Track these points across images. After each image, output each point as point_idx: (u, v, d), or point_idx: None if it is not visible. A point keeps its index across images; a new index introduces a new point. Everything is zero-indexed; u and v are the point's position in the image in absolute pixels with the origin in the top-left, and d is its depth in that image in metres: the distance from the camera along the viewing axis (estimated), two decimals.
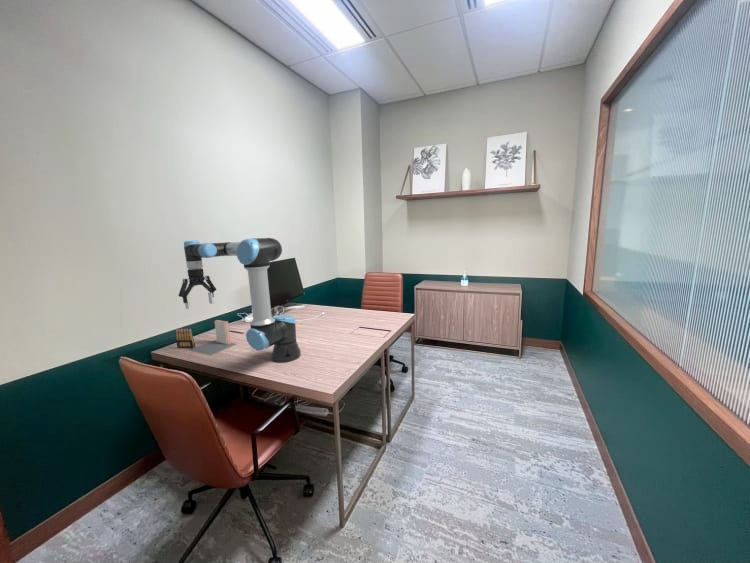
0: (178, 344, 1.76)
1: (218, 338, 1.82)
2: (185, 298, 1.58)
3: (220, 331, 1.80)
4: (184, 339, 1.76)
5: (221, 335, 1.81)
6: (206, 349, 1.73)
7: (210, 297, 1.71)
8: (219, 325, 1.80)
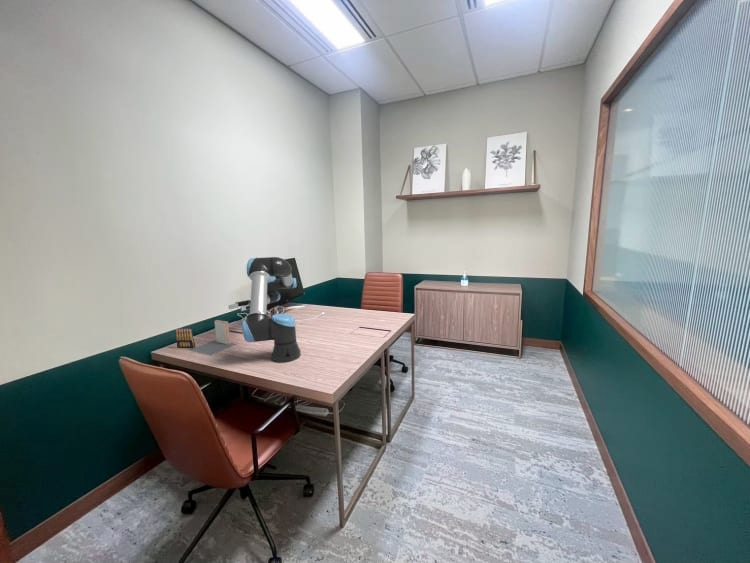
0: (178, 344, 1.76)
1: (218, 338, 1.82)
2: (235, 304, 1.97)
3: (220, 331, 1.80)
4: (184, 339, 1.76)
5: (221, 335, 1.81)
6: (206, 349, 1.73)
7: None
8: (219, 325, 1.80)
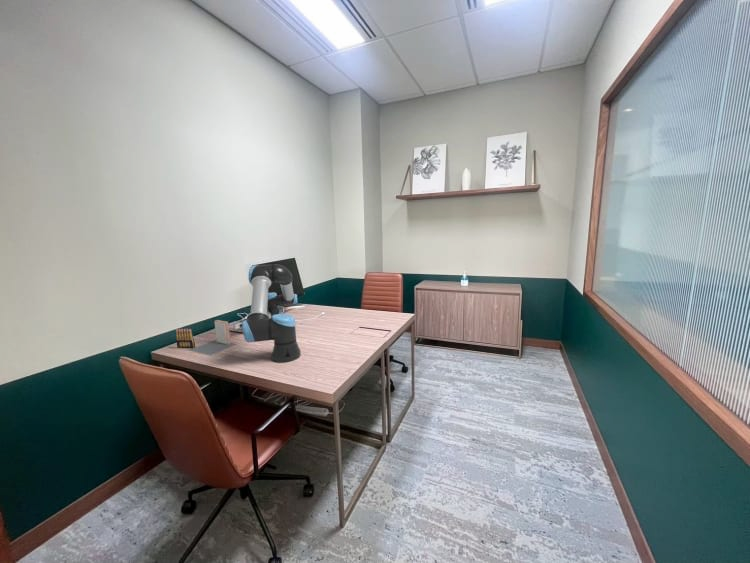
0: (178, 344, 1.76)
1: (218, 338, 1.82)
2: (240, 323, 1.95)
3: (220, 331, 1.80)
4: (184, 339, 1.76)
5: (221, 335, 1.81)
6: (206, 349, 1.73)
7: None
8: (219, 325, 1.80)
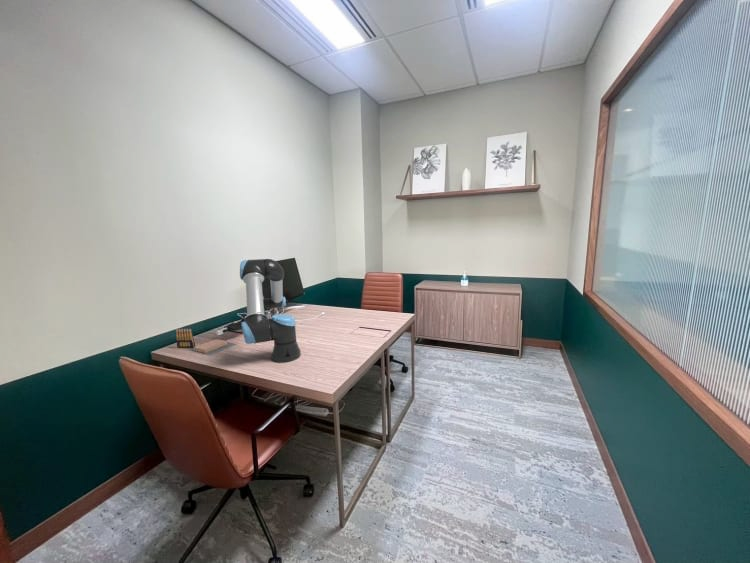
0: (178, 344, 1.76)
1: None
2: None
3: None
4: (184, 339, 1.76)
5: None
6: None
7: None
8: None
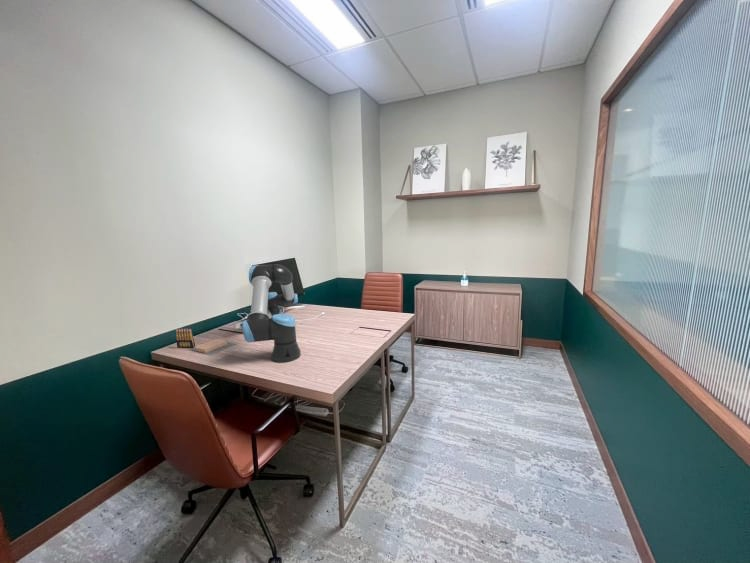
0: (178, 344, 1.76)
1: None
2: None
3: None
4: (184, 339, 1.76)
5: None
6: None
7: None
8: None
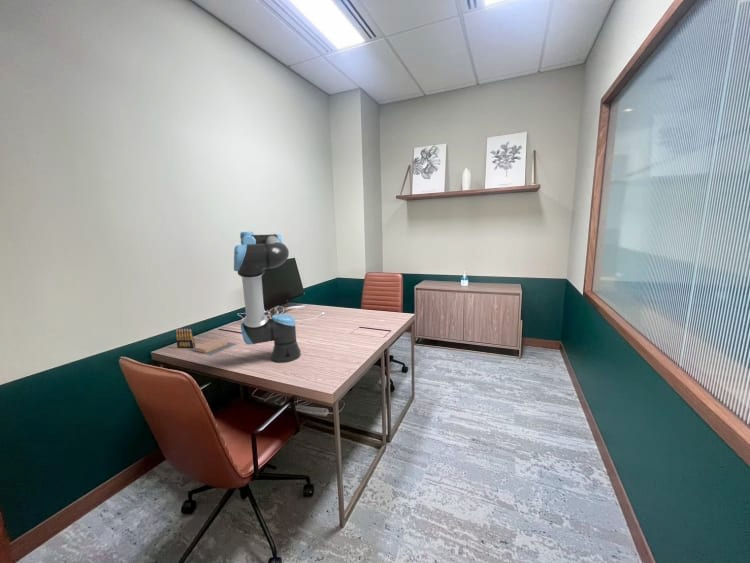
0: (178, 344, 1.76)
1: None
2: None
3: None
4: (184, 339, 1.76)
5: None
6: None
7: None
8: None
